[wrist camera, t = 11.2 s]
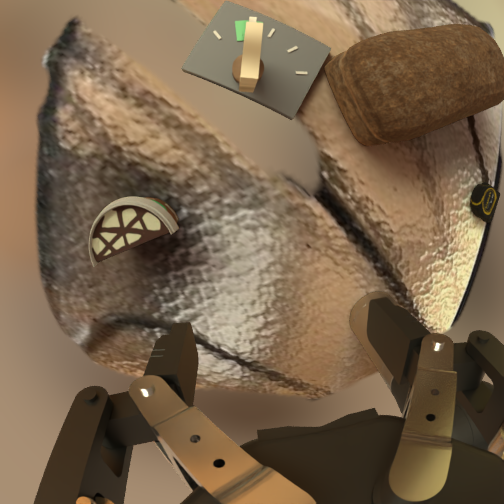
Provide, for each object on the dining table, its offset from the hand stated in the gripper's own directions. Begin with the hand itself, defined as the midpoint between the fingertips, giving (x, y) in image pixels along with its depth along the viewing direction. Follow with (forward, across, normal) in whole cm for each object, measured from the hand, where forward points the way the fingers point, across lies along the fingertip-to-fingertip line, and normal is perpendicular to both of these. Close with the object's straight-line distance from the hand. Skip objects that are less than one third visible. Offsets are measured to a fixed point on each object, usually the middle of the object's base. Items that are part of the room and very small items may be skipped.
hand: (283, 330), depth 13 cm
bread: (+31, -28, -20) cm, 47 cm away
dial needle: (+29, -2, -22) cm, 37 cm away
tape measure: (+32, -46, 0) cm, 55 cm away
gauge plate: (+31, -3, -23) cm, 38 cm away
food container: (+31, +15, -2) cm, 35 cm away
